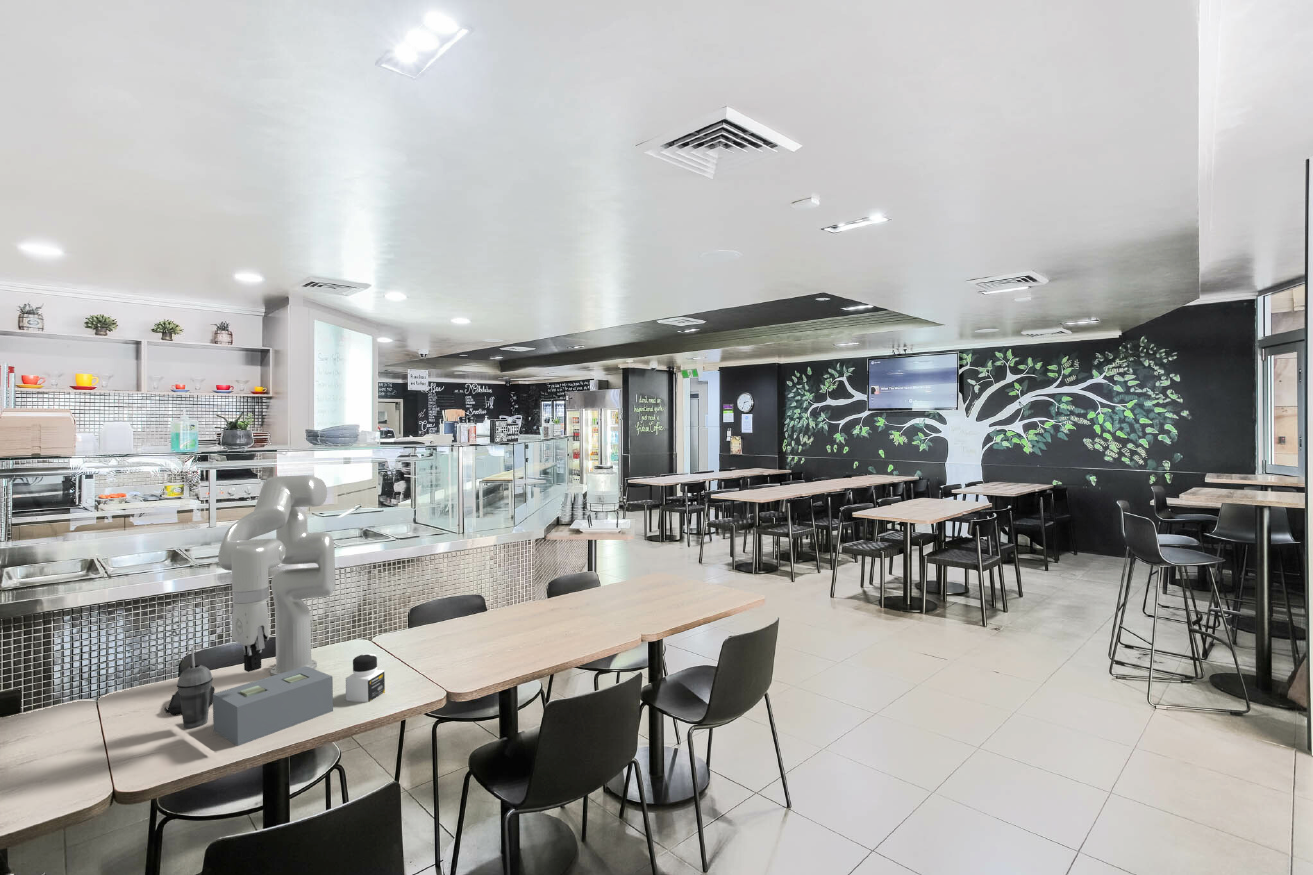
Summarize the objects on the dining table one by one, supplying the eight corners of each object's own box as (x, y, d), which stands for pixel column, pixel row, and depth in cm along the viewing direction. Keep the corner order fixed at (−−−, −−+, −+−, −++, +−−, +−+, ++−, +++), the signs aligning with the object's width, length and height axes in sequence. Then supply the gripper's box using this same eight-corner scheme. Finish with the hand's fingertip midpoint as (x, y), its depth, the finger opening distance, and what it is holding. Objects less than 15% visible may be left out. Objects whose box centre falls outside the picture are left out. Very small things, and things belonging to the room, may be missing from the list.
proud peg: (240, 727, 152) (239, 691, 153) (258, 721, 156) (257, 685, 156) (247, 731, 150) (247, 694, 150) (265, 725, 153) (265, 689, 153)
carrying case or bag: (168, 701, 174) (161, 720, 162) (168, 690, 174) (161, 708, 162) (215, 692, 180) (212, 710, 167) (215, 681, 180) (212, 698, 167)
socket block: (213, 734, 152) (212, 693, 152) (306, 702, 170) (306, 665, 170) (238, 750, 144) (237, 706, 144) (333, 714, 162) (332, 676, 162)
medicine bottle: (368, 705, 167) (367, 661, 167) (345, 704, 169) (344, 659, 169) (385, 695, 174) (384, 652, 174) (362, 693, 176) (362, 650, 176)
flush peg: (284, 714, 161) (283, 679, 161) (300, 708, 164) (299, 674, 164) (291, 717, 158) (290, 682, 158) (307, 712, 162) (307, 677, 162)
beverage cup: (185, 737, 151) (183, 655, 151) (172, 730, 155) (170, 650, 155) (219, 725, 157) (217, 646, 157) (205, 719, 161) (204, 641, 161)
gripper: (220, 594, 154) (222, 668, 155) (247, 604, 146) (249, 681, 146) (254, 587, 161) (256, 658, 161) (281, 596, 152) (283, 671, 152)
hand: (252, 669), depth 154 cm, fingers closed
